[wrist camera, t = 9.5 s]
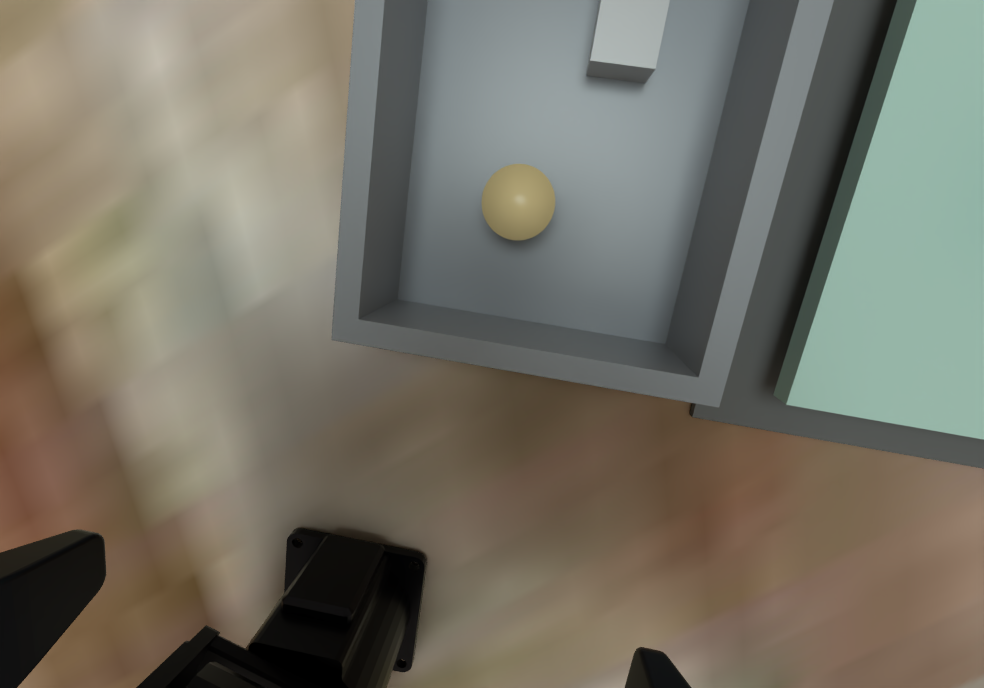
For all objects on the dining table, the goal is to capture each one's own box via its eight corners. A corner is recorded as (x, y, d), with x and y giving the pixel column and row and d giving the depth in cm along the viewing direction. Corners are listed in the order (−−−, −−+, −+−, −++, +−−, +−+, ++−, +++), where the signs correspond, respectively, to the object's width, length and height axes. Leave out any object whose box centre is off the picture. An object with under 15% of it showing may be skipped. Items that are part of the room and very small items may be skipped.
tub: (676, 361, 20) (718, 407, 15) (382, 312, 20) (331, 340, 16) (798, -120, 16) (911, -273, 11) (426, -159, 16) (377, -318, 12)
